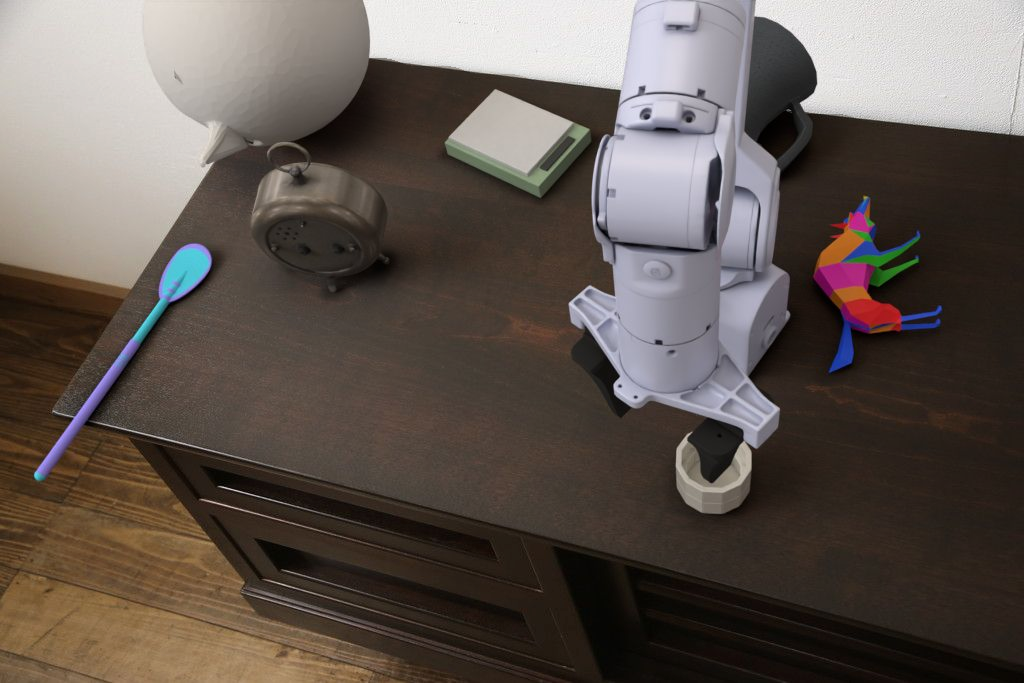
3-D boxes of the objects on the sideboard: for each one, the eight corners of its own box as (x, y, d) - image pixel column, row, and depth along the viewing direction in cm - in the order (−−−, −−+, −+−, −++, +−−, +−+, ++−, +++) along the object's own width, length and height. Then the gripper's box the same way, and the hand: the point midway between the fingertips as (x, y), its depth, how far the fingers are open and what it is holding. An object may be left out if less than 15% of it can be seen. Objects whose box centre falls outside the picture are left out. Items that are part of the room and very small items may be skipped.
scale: (591, 141, 100) (589, 125, 98) (540, 198, 97) (537, 182, 95) (498, 101, 105) (495, 85, 103) (447, 154, 102) (443, 138, 100)
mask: (246, -32, 113) (77, -41, 97) (361, -121, 102) (192, -148, 86) (319, 166, 113) (164, 188, 97) (442, 98, 102) (288, 111, 86)
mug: (724, 51, 101) (643, 128, 98) (751, -3, 92) (663, 80, 90) (821, 136, 99) (741, 217, 97) (857, 89, 91) (771, 176, 88)
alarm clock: (404, 248, 96) (356, 115, 83) (394, 297, 93) (343, 167, 80) (287, 249, 98) (222, 120, 85) (274, 297, 95) (204, 171, 82)
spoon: (185, 245, 100) (181, 237, 99) (222, 258, 99) (218, 250, 98) (19, 474, 88) (12, 467, 87) (59, 491, 87) (53, 484, 86)
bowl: (763, 474, 79) (765, 448, 76) (725, 529, 77) (726, 505, 74) (701, 440, 81) (701, 414, 78) (663, 493, 79) (661, 468, 76)
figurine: (904, 173, 86) (789, 198, 88) (952, 338, 79) (827, 361, 81) (903, 201, 89) (793, 225, 91) (949, 362, 82) (829, 384, 84)
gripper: (525, 285, 62) (549, 416, 73) (726, 422, 55) (720, 545, 66) (607, 216, 65) (619, 352, 75) (810, 337, 57) (791, 469, 68)
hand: (670, 437), depth 71 cm, fingers open, 7 cm apart
